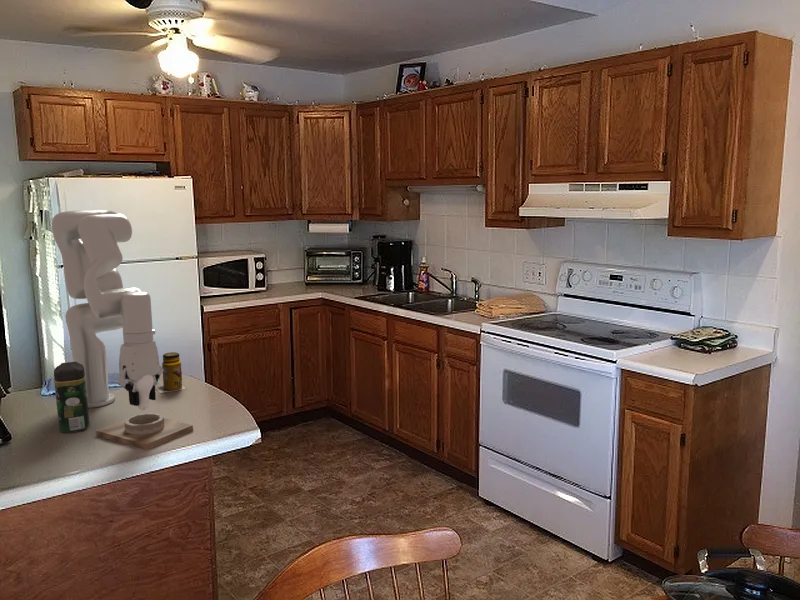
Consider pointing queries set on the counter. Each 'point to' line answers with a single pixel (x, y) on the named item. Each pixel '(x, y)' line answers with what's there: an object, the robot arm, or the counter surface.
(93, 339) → the robot arm
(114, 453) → the counter surface
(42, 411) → the counter surface
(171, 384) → the condiment
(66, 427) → the coffee jar
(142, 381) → the lightbulb
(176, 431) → the socket board
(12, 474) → the counter surface
